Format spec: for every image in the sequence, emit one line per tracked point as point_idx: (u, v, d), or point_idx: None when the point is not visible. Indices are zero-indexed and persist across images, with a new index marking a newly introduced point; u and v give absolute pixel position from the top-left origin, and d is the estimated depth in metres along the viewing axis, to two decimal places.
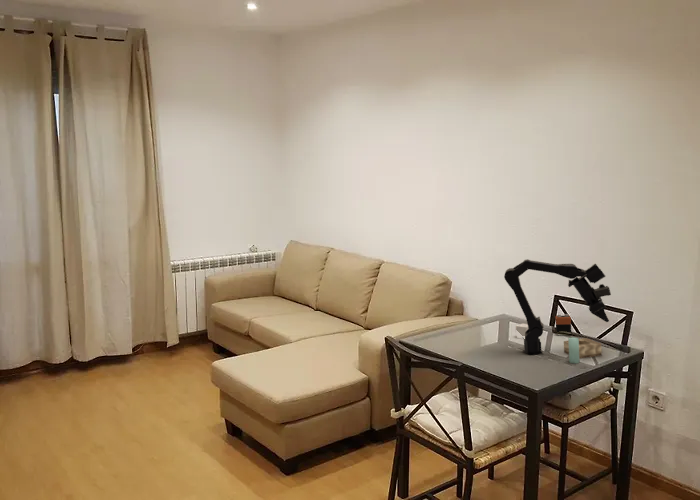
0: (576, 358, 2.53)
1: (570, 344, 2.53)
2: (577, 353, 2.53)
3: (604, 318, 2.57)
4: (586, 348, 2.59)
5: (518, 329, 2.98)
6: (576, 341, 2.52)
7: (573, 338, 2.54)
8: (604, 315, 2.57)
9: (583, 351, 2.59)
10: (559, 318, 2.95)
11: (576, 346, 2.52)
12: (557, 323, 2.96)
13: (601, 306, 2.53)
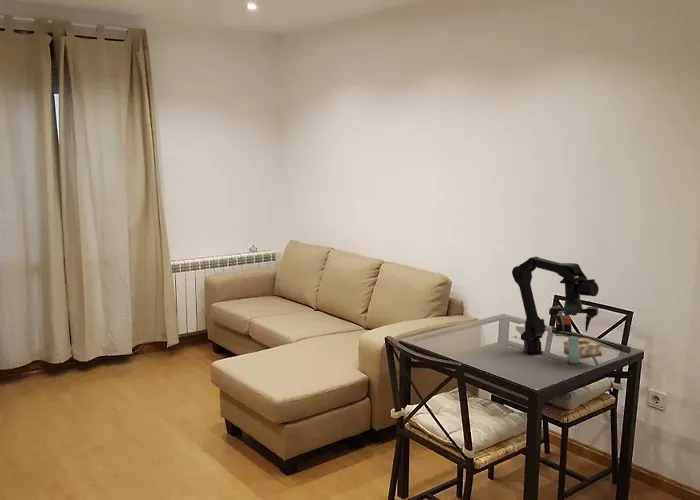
0: (576, 358, 2.53)
1: (570, 344, 2.53)
2: (577, 353, 2.53)
3: None
4: (586, 348, 2.59)
5: (518, 329, 2.98)
6: (576, 341, 2.52)
7: (573, 338, 2.54)
8: None
9: (583, 351, 2.59)
10: None
11: (576, 346, 2.52)
12: (557, 323, 2.96)
13: None
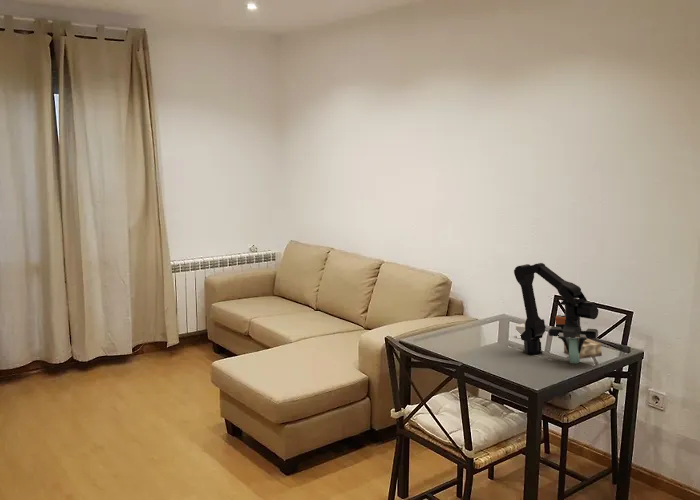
0: (576, 358, 2.53)
1: (570, 344, 2.53)
2: (577, 353, 2.53)
3: None
4: (586, 348, 2.59)
5: (518, 329, 2.98)
6: (576, 341, 2.52)
7: (573, 338, 2.54)
8: None
9: (583, 351, 2.59)
10: (559, 318, 2.95)
11: (576, 346, 2.52)
12: (557, 323, 2.96)
13: None
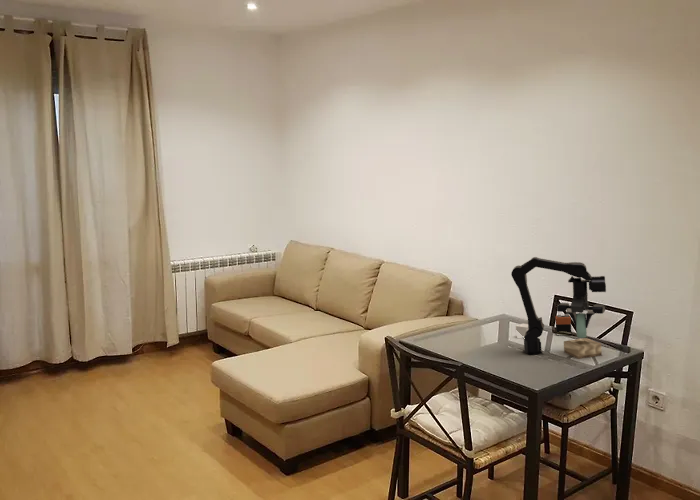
0: (583, 333, 2.62)
1: (577, 319, 2.63)
2: (584, 328, 2.62)
3: None
4: (586, 348, 2.59)
5: (518, 329, 2.98)
6: (583, 316, 2.61)
7: (580, 313, 2.63)
8: None
9: (583, 351, 2.59)
10: (559, 318, 2.95)
11: (583, 321, 2.62)
12: (557, 323, 2.96)
13: None
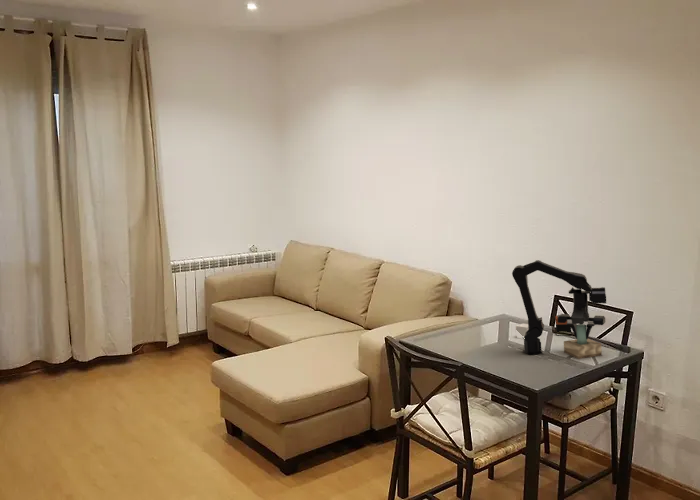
0: None
1: (578, 330, 2.63)
2: (585, 339, 2.63)
3: None
4: (586, 348, 2.59)
5: (518, 329, 2.98)
6: (584, 327, 2.62)
7: (581, 325, 2.64)
8: None
9: (583, 351, 2.59)
10: None
11: (584, 332, 2.62)
12: (557, 323, 2.96)
13: None
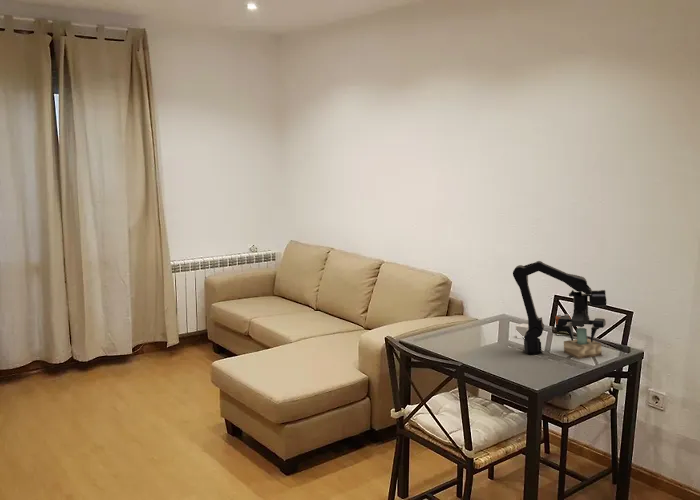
0: None
1: (578, 334, 2.63)
2: (585, 343, 2.63)
3: None
4: (586, 348, 2.59)
5: (518, 329, 2.98)
6: (584, 331, 2.62)
7: (581, 328, 2.64)
8: None
9: (583, 351, 2.59)
10: None
11: (584, 336, 2.62)
12: (557, 323, 2.96)
13: None
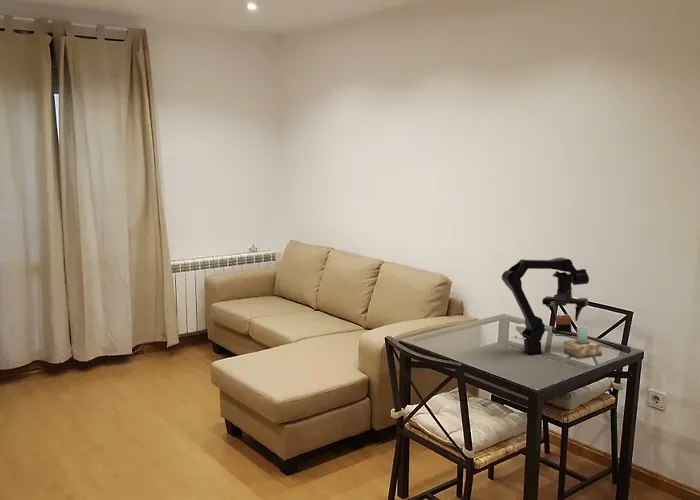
0: None
1: (578, 334, 2.63)
2: (585, 343, 2.63)
3: None
4: (586, 348, 2.59)
5: (518, 329, 2.98)
6: (584, 331, 2.62)
7: (581, 328, 2.64)
8: None
9: (583, 351, 2.59)
10: (559, 318, 2.95)
11: (584, 336, 2.62)
12: (557, 323, 2.96)
13: None
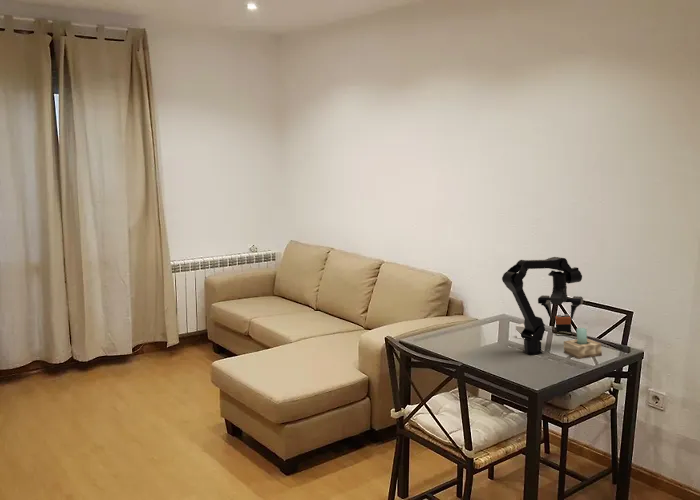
0: None
1: (578, 334, 2.63)
2: (585, 343, 2.63)
3: None
4: (586, 348, 2.59)
5: (518, 329, 2.98)
6: (584, 331, 2.62)
7: (581, 328, 2.64)
8: None
9: (583, 351, 2.59)
10: (559, 318, 2.95)
11: (584, 336, 2.62)
12: (557, 323, 2.96)
13: None
